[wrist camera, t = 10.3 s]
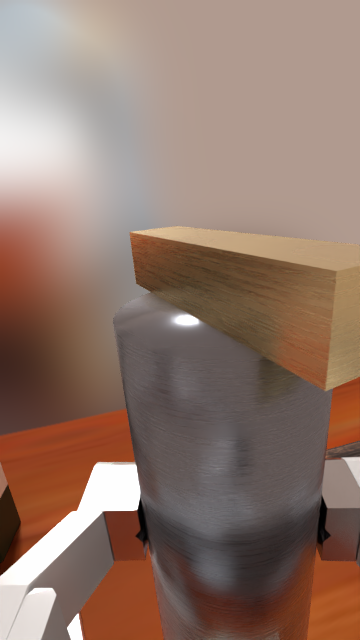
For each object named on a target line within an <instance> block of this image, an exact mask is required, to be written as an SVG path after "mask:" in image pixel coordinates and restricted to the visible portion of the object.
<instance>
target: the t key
mask: <svg viewBox="0 0 360 640" xmlns="http://www.w3.org/2000/svg"><path fill="white" fill-rule="evenodd" d="M130 240H131V247H132V256H133V263H134V271H135V278H136V284H138V285H139V286H141V287H143V288H145V289H146V290H148V291H150V292H151V293H148V294H145V295H143V296H140V297H138V298H136V299H134V300H132V301H130V302H128V303H127V304H125V305H124V306H123V307H121V308H120V309H119V310H118V312H117V313H116V314H115V316H114V318H113V327H114V333H115V339H116V346H117V352H118V358H119V364H120V371H121V377H122V383H123V389H124V395H125V402H126V408H127V414H128V420H129V426H130V433H131V439H132V445H133V451H134V457H135V464H136V470H137V476H138V482H139V489H140V495H141V501H142V507H143V513H144V520H145V526H146V532H147V538H148V544H149V551H150V557H151V563H152V569H153V575H154V582H155V588H156V594H157V600H158V606H159V613H160V619H161V625H162V631H163V637H164V640H307V633H308V624H309V614H310V604H311V594H312V584H313V575H314V565H315V555H316V545H317V536H318V526H319V516H320V506H321V497H322V487H323V477H324V467H325V458H326V448H327V438H328V428H329V419H330V409H331V399H332V389H333V388H334V387H337V386H339V385H341V384H343V383H346V382H348V381H350V380H353V379H355V378H357V377H359V376H360V245H356V244H347V243H338V242H328V241H318V240H307V239H298V238H288V237H278V236H269V235H259V234H249V233H240V232H230V231H219V230H210V229H200V228H191V227H181V226H174V227H167V228H159V229H150V230H143V231H134V232H130Z"/></svg>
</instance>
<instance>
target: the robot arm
mask: <svg viewBox="0 0 360 640" xmlns="http://www.w3.org/2000/svg"><path fill="white" fill-rule="evenodd" d="M147 546H148V538H147V532H146V526H145V520H144V513H143V507H142V501H141V495H140V489H139V482H138V476H137V470H136V464H135V462H114V463H112V462H98V463H97V464H96V465H95V466H94V468H93V471H92V474H91V476H90V479H89V481H88V484H87V487H86V489H85V492H84V495H83V497H82V500H81V502H80V505H79V508H78V510H77V512H71V513H70V514H69V515H68V516H67V517H65V518H64V519H63V520H62V521H61V522H60V523H59V524H58V525H57V526H55V527H54V528H53V529H52V530H51V531H50V532H49V533H48V534H47V535H46V536H44V537H43V538H42V539H41V540H40V541H39V542H38V543H37V544H36V545H34V546H33V547H32V548H31V549H30V550H29V551H28V552H27V553H26V554H24V555H23V556H22V557H21V558H20V559H19V560H18V561H17V562H16V563H15V564H13V565H12V566H11V567H10V568H9V569H8V570H7V571H6V572H5V573H3V574H2V575H1V576H0V640H71V638H70V635H69V632H68V629H67V628H68V626H69V625H70V624H71V622H72V621H73V619H74V618H75V617H76V615H77V614H78V613H79V611H80V610H81V608H82V607H83V606H84V604H85V603H86V601H87V600H88V599H89V597H90V596H91V594H92V593H93V592H94V590H95V589H96V588H97V586H98V585H99V583H100V582H101V581H102V579H103V578H104V576H105V575H106V574H107V572H108V571H109V569H110V568H111V567H112V565H113V564H114V561H128V560H145V559H146V553H147ZM316 546H317V549H318V551H319V554H320V557H321V560H325V561H356V562H357V565H358V566H359V567H360V457H346V458H325V467H324V477H323V487H322V497H321V506H320V516H319V526H318V536H317V545H316Z"/></svg>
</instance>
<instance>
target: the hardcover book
mask: <svg viewBox="0 0 360 640" xmlns="http://www.w3.org/2000/svg"><path fill="white" fill-rule="evenodd" d="M346 457H360V441H357V442H353V443H350V444H346V445H343V446H339V447H335V448H332V449H328V450H326V458H346Z"/></svg>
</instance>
